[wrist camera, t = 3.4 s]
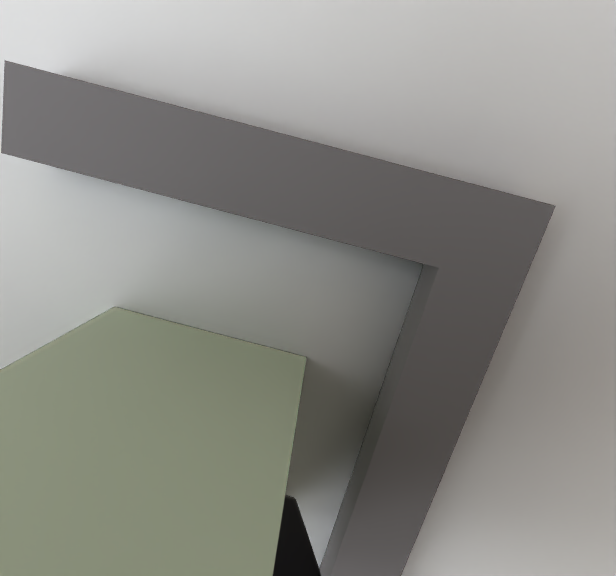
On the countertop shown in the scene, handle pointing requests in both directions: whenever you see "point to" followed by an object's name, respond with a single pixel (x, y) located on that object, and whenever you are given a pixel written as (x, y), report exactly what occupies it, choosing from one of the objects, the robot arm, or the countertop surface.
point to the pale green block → (145, 452)
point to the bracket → (336, 226)
